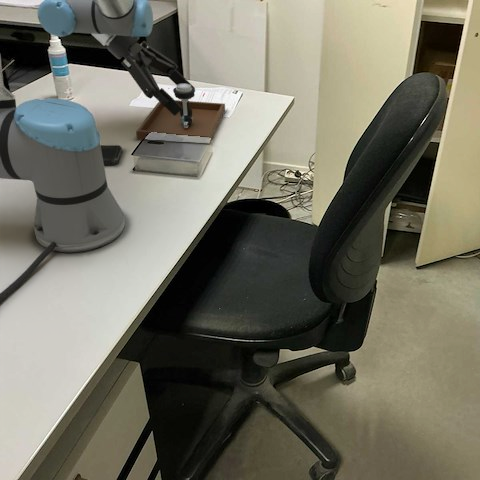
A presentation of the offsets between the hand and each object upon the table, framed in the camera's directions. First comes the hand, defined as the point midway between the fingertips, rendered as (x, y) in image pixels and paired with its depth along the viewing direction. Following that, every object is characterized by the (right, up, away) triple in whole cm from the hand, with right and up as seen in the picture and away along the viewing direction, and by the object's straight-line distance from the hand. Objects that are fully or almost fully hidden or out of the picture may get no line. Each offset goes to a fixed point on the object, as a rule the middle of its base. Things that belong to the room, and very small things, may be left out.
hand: (185, 101), depth 138 cm
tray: (-1, -5, +4) cm, 7 cm away
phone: (-19, -16, -14) cm, 29 cm away
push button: (0, -5, +3) cm, 6 cm away
